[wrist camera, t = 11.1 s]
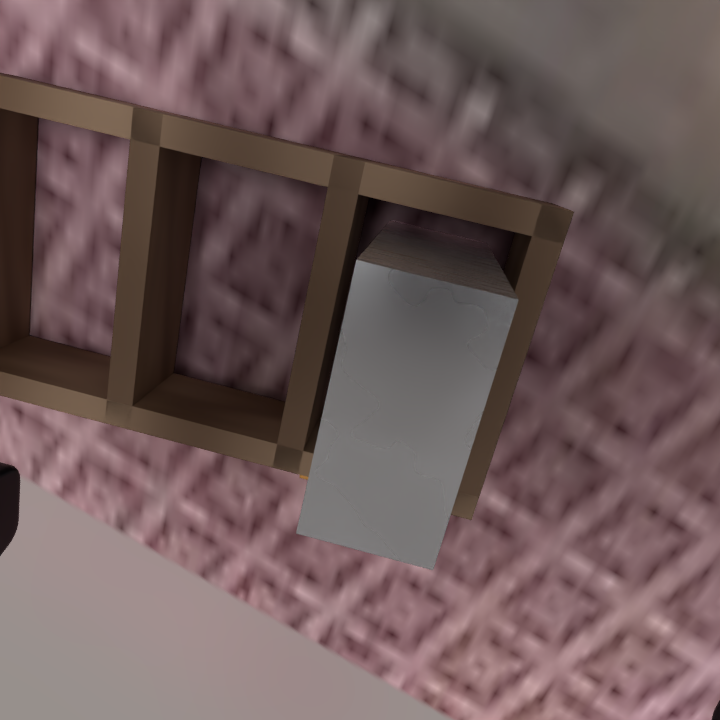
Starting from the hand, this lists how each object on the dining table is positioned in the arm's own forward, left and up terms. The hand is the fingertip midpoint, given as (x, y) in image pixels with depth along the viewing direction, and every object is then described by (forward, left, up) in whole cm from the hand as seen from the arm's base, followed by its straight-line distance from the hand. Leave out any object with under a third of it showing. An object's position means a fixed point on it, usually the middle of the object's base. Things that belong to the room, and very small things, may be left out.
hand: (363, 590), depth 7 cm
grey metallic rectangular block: (0, 0, -13) cm, 13 cm away
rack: (+5, 0, -13) cm, 14 cm away
